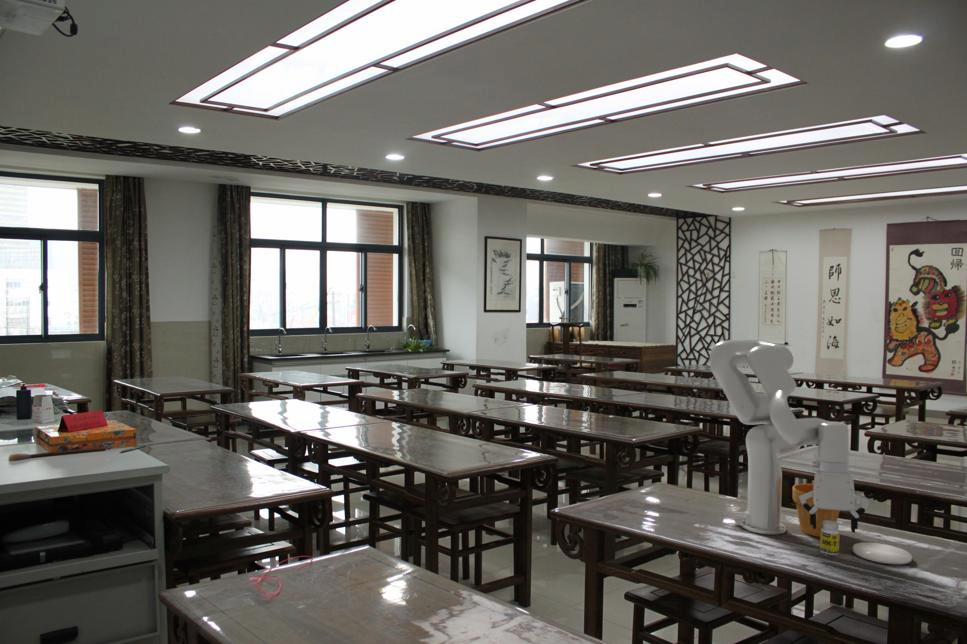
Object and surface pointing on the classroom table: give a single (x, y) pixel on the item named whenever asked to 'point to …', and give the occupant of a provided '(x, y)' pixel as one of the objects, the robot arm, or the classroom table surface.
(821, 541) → the supplement bottle
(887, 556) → the dish
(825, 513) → the flower pot
